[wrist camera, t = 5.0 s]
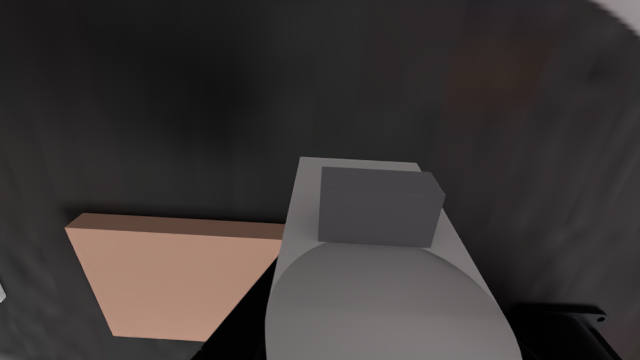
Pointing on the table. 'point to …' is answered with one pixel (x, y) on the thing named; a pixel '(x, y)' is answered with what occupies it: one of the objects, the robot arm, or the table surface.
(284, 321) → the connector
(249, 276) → the terracotta tile
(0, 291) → the small box
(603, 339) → the robot arm
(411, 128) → the table surface
